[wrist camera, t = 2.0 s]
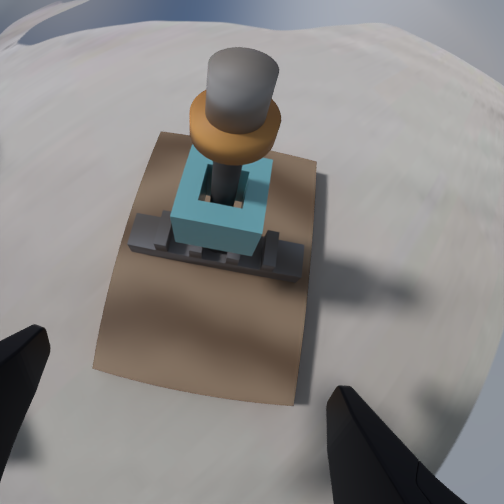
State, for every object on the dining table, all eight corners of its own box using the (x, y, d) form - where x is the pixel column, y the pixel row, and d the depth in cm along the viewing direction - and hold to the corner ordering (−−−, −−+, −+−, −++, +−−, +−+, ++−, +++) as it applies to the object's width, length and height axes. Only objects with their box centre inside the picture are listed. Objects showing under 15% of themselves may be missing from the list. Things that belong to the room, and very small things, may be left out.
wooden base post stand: (287, 403, 21) (463, 470, 5) (99, 367, 19) (-88, 361, 3) (311, 170, 28) (397, 14, 12) (162, 141, 26) (149, -35, 10)
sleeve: (251, 256, 16) (262, 233, 13) (175, 241, 16) (170, 216, 13) (261, 190, 17) (272, 159, 15) (192, 177, 17) (192, 144, 14)
